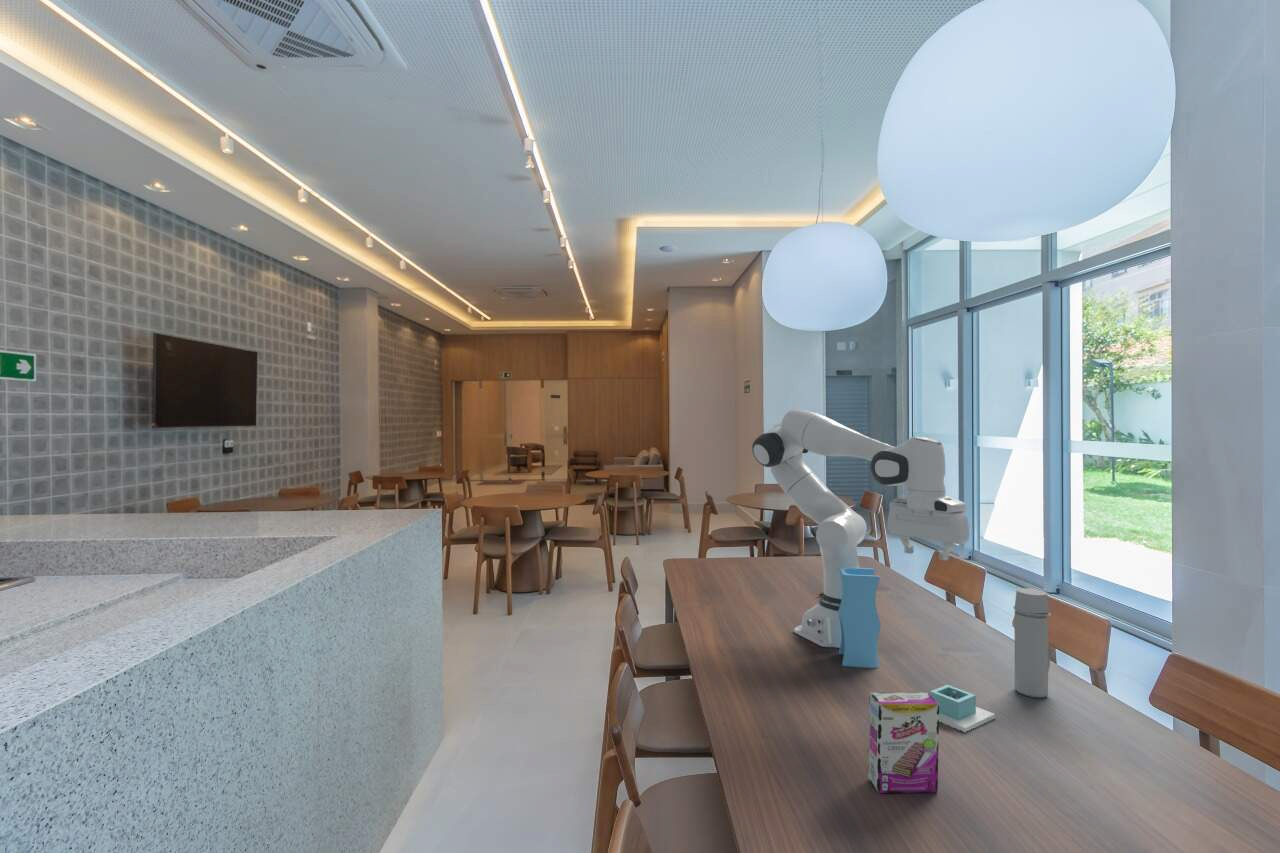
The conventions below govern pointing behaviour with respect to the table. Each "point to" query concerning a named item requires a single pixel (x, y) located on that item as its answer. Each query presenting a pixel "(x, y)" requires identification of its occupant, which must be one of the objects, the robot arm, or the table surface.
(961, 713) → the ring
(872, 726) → the candy bar box
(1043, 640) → the water bottle
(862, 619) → the vase
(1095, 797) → the table surface
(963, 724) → the post stand
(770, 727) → the table surface
